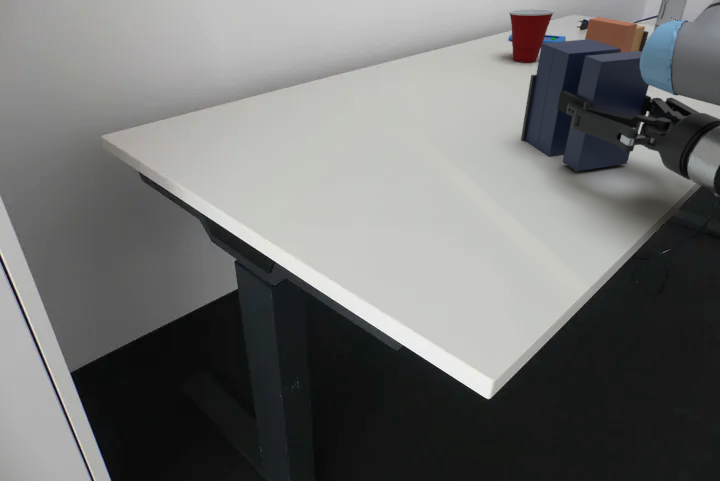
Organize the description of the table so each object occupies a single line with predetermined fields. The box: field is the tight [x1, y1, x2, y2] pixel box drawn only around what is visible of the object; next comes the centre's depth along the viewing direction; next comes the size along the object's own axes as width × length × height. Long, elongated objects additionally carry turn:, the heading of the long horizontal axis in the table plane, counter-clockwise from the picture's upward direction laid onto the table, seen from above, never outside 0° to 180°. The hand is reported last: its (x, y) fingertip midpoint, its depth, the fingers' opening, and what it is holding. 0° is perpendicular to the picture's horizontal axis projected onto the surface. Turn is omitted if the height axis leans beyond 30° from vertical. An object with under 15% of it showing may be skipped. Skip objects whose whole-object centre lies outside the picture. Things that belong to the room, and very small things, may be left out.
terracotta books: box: [584, 16, 650, 53], centre depth 117 cm, size 8×10×13 cm
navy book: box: [562, 51, 650, 172], centre depth 78 cm, size 4×9×16 cm, turn 107°
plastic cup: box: [508, 8, 555, 64], centre depth 134 cm, size 11×11×12 cm
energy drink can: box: [653, 0, 688, 31], centre depth 148 cm, size 6×6×15 cm
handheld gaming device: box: [508, 33, 567, 43], centre depth 155 cm, size 8×1×15 cm
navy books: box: [520, 39, 621, 157], centre depth 86 cm, size 8×10×16 cm
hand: (588, 96), depth 82 cm, fingers closed on navy book, 9 cm apart
